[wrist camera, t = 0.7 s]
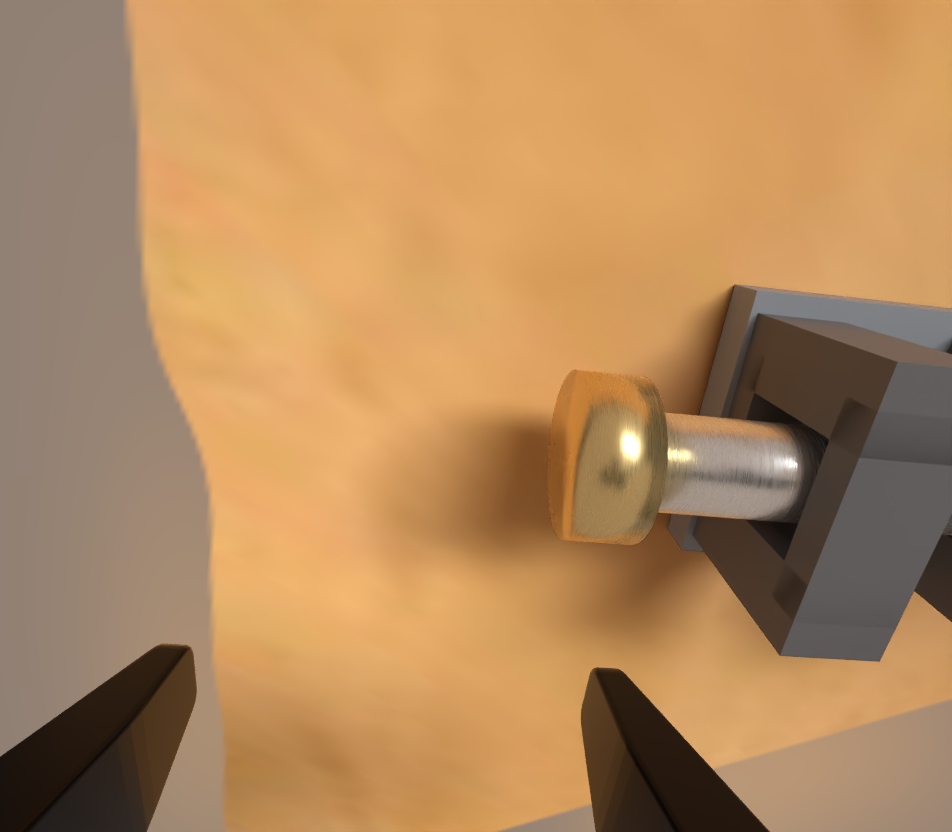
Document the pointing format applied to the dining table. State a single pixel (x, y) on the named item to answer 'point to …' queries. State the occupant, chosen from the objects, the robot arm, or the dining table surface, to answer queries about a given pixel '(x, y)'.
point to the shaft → (667, 462)
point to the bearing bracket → (838, 467)
